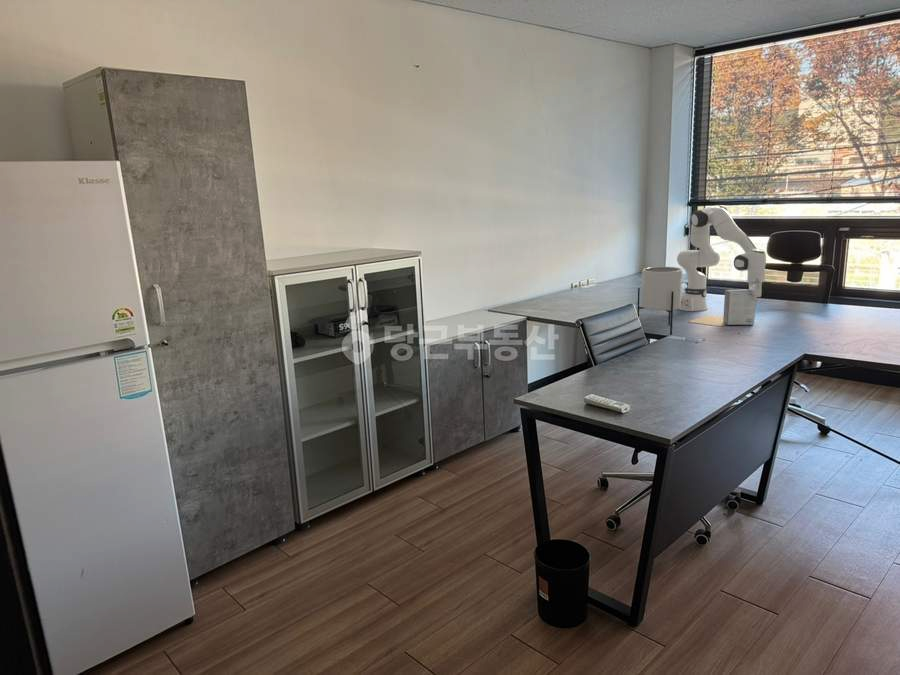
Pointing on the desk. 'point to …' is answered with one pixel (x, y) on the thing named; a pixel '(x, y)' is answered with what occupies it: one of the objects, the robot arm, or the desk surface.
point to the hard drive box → (739, 307)
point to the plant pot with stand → (661, 290)
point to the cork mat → (709, 321)
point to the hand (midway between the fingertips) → (754, 301)
